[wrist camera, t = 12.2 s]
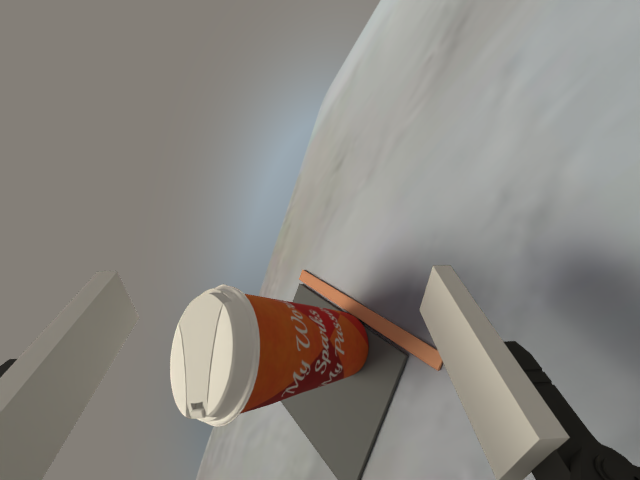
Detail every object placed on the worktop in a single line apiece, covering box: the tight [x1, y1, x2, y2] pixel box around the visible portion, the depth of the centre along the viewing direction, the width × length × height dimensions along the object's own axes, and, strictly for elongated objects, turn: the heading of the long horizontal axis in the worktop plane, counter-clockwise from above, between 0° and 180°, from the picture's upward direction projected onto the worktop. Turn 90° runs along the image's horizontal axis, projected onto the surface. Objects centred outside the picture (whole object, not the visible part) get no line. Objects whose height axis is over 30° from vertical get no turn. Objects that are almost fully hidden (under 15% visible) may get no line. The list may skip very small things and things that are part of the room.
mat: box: [281, 284, 408, 480], centre depth 28 cm, size 12×15×1 cm
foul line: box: [299, 270, 443, 371], centre depth 27 cm, size 1×18×1 cm, turn 61°
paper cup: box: [170, 285, 369, 426], centre depth 21 cm, size 8×8×14 cm
